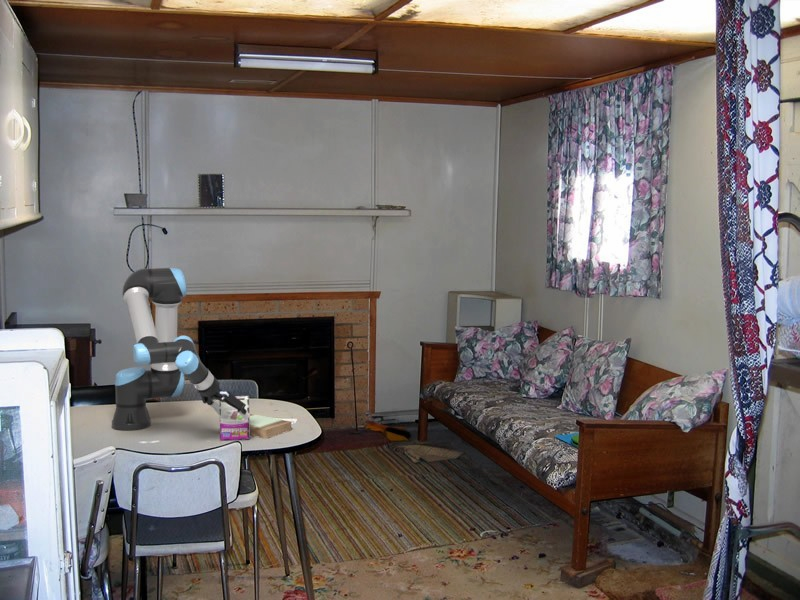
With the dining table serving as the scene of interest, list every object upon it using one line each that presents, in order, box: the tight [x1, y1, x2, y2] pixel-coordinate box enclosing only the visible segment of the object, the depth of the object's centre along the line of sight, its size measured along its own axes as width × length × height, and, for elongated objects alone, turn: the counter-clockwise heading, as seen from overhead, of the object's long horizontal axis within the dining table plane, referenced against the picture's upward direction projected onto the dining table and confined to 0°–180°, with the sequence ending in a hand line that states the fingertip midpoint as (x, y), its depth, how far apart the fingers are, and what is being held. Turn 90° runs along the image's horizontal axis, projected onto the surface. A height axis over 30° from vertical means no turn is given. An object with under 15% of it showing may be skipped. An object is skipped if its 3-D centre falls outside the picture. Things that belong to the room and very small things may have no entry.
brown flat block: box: [249, 413, 292, 439], centre depth 341 cm, size 22×15×4 cm
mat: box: [250, 414, 283, 428], centre depth 340 cm, size 14×13×1 cm
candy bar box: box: [219, 395, 251, 441], centre depth 327 cm, size 11×5×16 cm, turn 97°
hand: (234, 415), depth 326 cm, fingers open, 13 cm apart
